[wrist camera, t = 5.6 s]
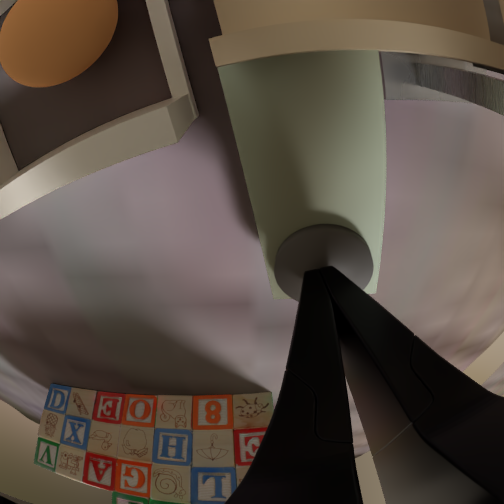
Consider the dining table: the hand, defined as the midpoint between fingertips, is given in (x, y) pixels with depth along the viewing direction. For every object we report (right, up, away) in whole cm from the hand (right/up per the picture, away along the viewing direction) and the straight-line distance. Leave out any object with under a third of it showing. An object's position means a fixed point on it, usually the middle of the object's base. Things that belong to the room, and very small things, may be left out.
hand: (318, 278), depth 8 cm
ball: (-7, +7, -4) cm, 10 cm away
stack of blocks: (-11, -13, +13) cm, 22 cm away
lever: (+5, +6, -3) cm, 8 cm away
